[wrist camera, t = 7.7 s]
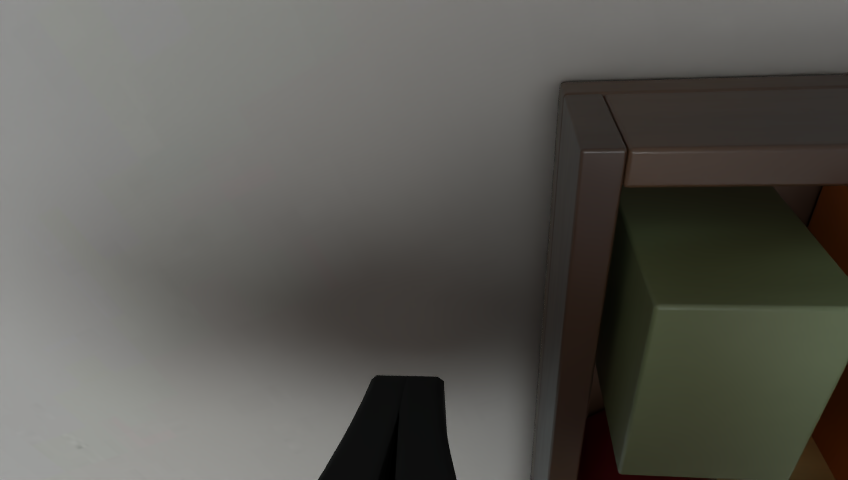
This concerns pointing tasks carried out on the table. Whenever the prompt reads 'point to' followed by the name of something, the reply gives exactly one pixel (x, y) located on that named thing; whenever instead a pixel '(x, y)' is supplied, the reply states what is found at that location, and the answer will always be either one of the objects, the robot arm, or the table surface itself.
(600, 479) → the tray of colored blocks
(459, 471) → the table surface
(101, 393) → the table surface
